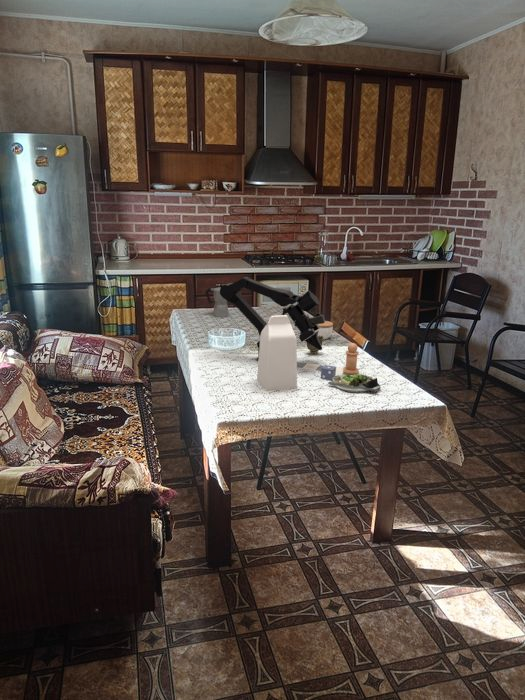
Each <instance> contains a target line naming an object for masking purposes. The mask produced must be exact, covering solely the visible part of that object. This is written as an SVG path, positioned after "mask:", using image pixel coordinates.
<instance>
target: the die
mask: <svg viewBox="0 0 525 700" xmlns="http://www.w3.org/2000/svg"><path fill="white" fill-rule="evenodd" d="M322 366H323V367H322V368H321V371H320V379H322V380H327V381H333V380H332V378H333V377H335V376H337V374H336V368H337V366H335V365H334V366H333V365H327V364H324V365H322Z"/></svg>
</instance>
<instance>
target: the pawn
mask: <svg viewBox="0 0 525 700" xmlns="http://www.w3.org/2000/svg"><path fill="white" fill-rule="evenodd" d="M345 355H346V356H345V357H346V358H345V359H346V360H345V366H344V367H343V368H342V369H343V373H344V374H347V375H354V374H357V375H358V374H359V373H358V371H359V368H358V367H357V362H358V356H359V351H358V345H357V344H356V343H354V342H351V343H349V344H348V345H347V350H346V351H345Z"/></svg>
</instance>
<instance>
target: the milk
mask: <svg viewBox="0 0 525 700" xmlns="http://www.w3.org/2000/svg"><path fill="white" fill-rule="evenodd" d="M266 323H267V325H266V326H265V327H264V329H263V330H262V332H261V335H259V341H260V347H259V360H258V359H257V360H258V363H257V374H256V380H257V382H258V384H260V386H261V387H262V388H263V389H264V390H265V391H276V390H291V389H298V388H297V387H298V377H297V376H298V367H297V362H298V353H297V352H298V349H297V348H298V346H297V345H298V344H297V343H298V340H297V336H296V334H295V331H294V328H293V327H292V325H291V322H290V319H289V315H288V314H287V315H286V314H285V315H282V314H281V315H271V316H270V317H269V319H268V322H266Z"/></svg>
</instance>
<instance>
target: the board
mask: <svg viewBox="0 0 525 700" xmlns="http://www.w3.org/2000/svg"><path fill="white" fill-rule="evenodd" d="M323 366H324V365H321V364H315V363H307V362H303V361H302V362H301V361H297V369H298V368H299V369H303V370H304V369H306V370H312V371H317V372H321V368H322V367H323ZM359 373H360V371H359V370H358V374H359ZM336 375H347V374H344V373H343V368H339V367H336Z"/></svg>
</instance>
